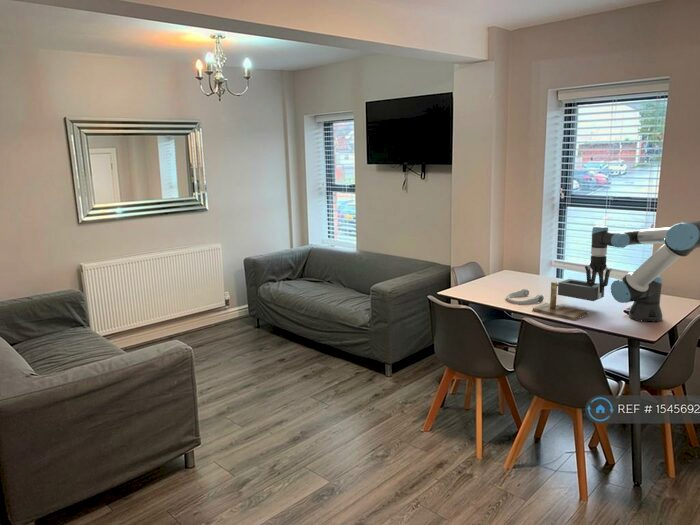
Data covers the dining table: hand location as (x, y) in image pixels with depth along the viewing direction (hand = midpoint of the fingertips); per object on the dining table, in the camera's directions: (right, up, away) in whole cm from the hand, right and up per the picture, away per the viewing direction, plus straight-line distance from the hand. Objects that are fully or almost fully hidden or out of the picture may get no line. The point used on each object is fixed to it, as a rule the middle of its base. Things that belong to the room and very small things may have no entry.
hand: (596, 297), depth 280 cm
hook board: (-19, -8, +1) cm, 21 cm away
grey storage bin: (-6, +1, +7) cm, 9 cm away
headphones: (-31, -4, +26) cm, 41 cm away
